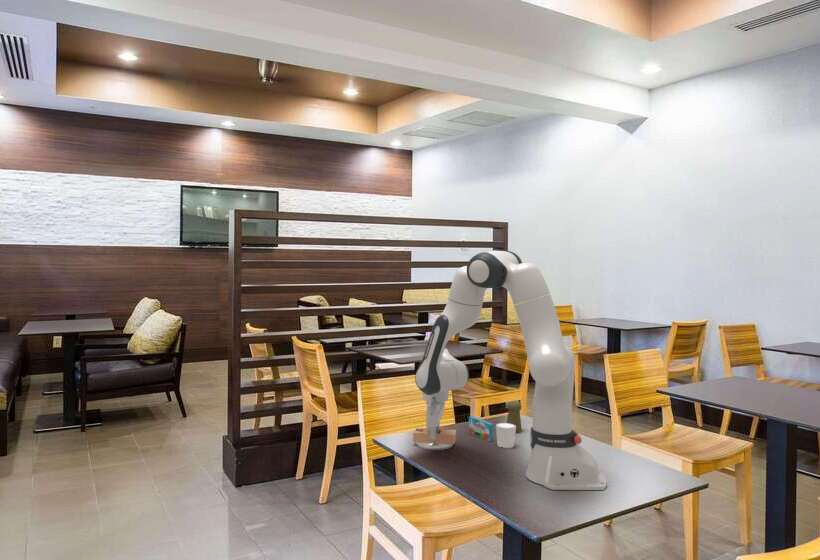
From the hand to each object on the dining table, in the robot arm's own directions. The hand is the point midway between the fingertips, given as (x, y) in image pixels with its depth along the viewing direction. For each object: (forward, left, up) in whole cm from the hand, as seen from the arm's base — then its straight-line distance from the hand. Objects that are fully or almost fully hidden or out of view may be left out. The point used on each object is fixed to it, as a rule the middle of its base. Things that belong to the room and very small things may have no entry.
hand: (434, 434), depth 192 cm
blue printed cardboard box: (-15, -12, -4) cm, 20 cm away
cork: (-27, -22, -4) cm, 35 cm away
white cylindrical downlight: (-24, -4, -4) cm, 25 cm away
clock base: (0, 0, -3) cm, 3 cm away
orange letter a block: (0, 0, -2) cm, 2 cm away
